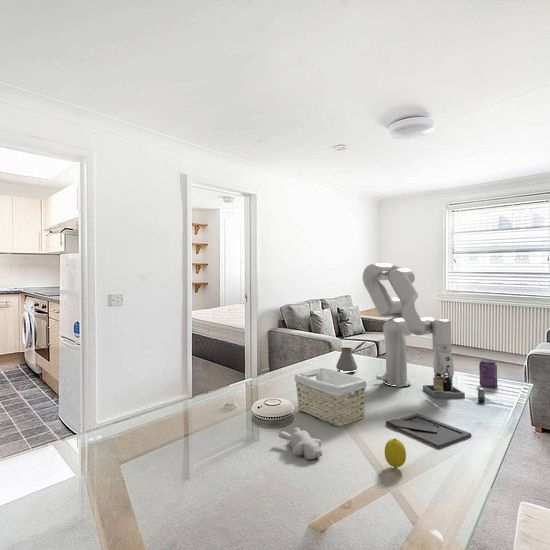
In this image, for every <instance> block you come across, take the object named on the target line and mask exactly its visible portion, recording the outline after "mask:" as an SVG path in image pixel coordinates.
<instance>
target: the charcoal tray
mask: <svg viewBox="0 0 550 550" xmlns="http://www.w3.org/2000/svg"><path fill="white" fill-rule="evenodd" d="M422 390H423V391H424V392H425V393H426V394H428V395H429V396H431V397H432V398H433V399H440V400H441V399H465V398H466V395H465V394H466V393H465V392H463V391H462V390H460V389H458V388H457V387H455V386H453V390H451V392H444V391H439V390H436V389H434V387H433V384H423V385H422Z"/></svg>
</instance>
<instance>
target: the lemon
mask: <svg viewBox="0 0 550 550" xmlns="http://www.w3.org/2000/svg"><path fill="white" fill-rule="evenodd" d="M384 458H385V460H386V463H388V465H390V466H391V467H393V468H394V469H397V468H400V467H402V466H403V465H404V464H405V462H406V459H407V451H406V447H405V445H404V443H403V442H402V441H400V440H399V439H397V438H395V437H394V438H392V439H389V440H388V441H387V442H386V443H385V445H384Z"/></svg>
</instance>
